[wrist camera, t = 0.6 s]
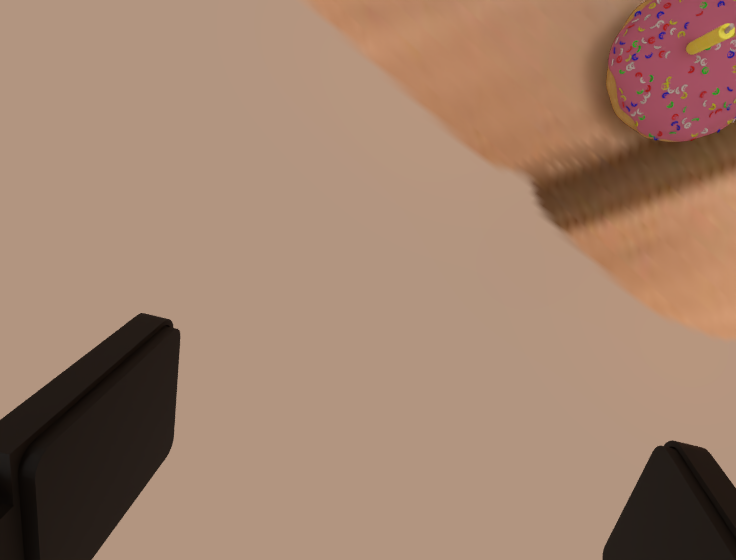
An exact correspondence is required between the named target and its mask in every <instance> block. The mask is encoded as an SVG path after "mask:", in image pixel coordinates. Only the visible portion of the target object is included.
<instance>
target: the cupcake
mask: <svg viewBox="0 0 736 560" xmlns="http://www.w3.org/2000/svg"><path fill="white" fill-rule="evenodd" d="M606 87H607V91H608V94H609V97H610V100H611V104H612V107H613V110H614V112H615V113H616V115H617V116H618V117H619V118H620V119H621V120H622V121H623V122H624V123H625V124H627V125H628V126H629V127H631V128H632V129H634V130H636V131H637V132H638V133H640V134H641V135H642V136H644V137H646V138H649V139H654V140H661V141H667V142H680V141H688V140H690V141H692V140H694V139H696V138H699V137H702V136H705V135H709V134H712V133H714V132H717V131H718V132H719V131H720V130H721V129H723V128H724V127H726V126H727V125H729V124H730V123H732V122H733V123H734V122H735V120H736V0H647V1H645V2H644V3H642V4H641V5H640V6H639V7H637V8H636V9H635V10H634V11H633V13H632V14H631V15H630V17H629V18H628V20H627V22H626V23H625V25H624V26H623V28H622V30H621V31H620V33H619V34H618V35H617V37H616V38H615V40H614V42H613V45H612V47H611V50H610V54H609V59H608V70H607V78H606ZM718 132H717V133H718Z"/></svg>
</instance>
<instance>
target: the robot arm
mask: <svg viewBox="0 0 736 560" xmlns="http://www.w3.org/2000/svg"><path fill="white" fill-rule="evenodd" d="M179 349H180V331H179V330H178V329H175V328H173V323H172V321H171V320H169V319H165V318H161V317H157V316H153V315H149V314H144V313H140V314H139V315H137V316H136V317H134V318H133V319H132V320H130V321H129V322H128V323H126V324H125V325H124V326H123V327H121V328H120V329H119V330H117V331H116V332H115V333H113V334H112V335H111V336H109V337H108V338H107V339H106V340H104V341H103V342H102V343H100V344H99V345H98V346H96V347H95V348H94V349H92V350H91V351H90V352H88V353H87V354H86V355H85V356H83V357H82V358H81V359H79V360H78V361H77V362H75V363H74V364H73V365H72V366H70V367H69V368H68V369H66V370H65V371H64V372H62V373H61V374H60V375H58V376H57V377H56V378H55V379H53V380H52V381H51V382H49V383H48V384H47V385H45V386H44V387H43V388H41V389H40V390H39V391H38V392H36V393H35V394H34V395H32V396H31V397H30V398H28V399H27V400H26V401H24V402H23V403H22V404H21V405H19V406H18V407H17V408H15V409H14V410H13V411H11V412H10V413H9V414H7V415H6V416H5V417H4V418H2V419H1V420H0V560H91V559H92V558H93V557H94V556H95V554H96V553H97V552H98V550H99V549H100V547H101V546H102V545H103V543H104V542H105V541H106V539H107V538H108V536H109V535H110V534H111V532H112V531H113V529H114V528H115V527H116V526H117V524H118V523H119V521H120V520H121V519H122V517H123V516H124V514H125V513H126V512H127V510H128V509H129V508H130V506H131V505H132V504H133V502H134V501H135V499H136V498H137V497H138V495H139V494H140V492H141V491H142V490H143V489H144V487H145V486H146V484H147V483H148V482H149V480H150V479H151V478H152V476H153V475H154V473H155V472H156V471H157V469H158V468H159V467H160V465H161V464H162V462H163V461H164V460H165V458H166V457H167V455H168V454H169V451H170V449H171V447H172V443H173V438H174V425H175V408H176V394H177V393H176V392H177V379H178V364H179ZM603 560H736V488H735V487H734V485H733V484H732V483H731V481H730V480H729V478H728V477H727V476H726V474H725V473H724V472H723V471H722V469H721V467H720V466H719V465H718V463H717V462H716V461H715V459H714V458H713V457H712V455H711V454H710V453H709V452H708V451H707V450H706V449H704V448H702V447H698V446H693V445H689V444H685V443H681V442H676V441H669V442H667V443H666V444H665V445H664V446H658V447H656V448H655V449H654V451H653V452H652V454H651V456H650V458H649V460H648V462H647V464H646V466H645V468H644V470H643V472H642V474H641V476H640V478H639V480H638V482H637V484H636V486H635V488H634V490H633V492H632V494H631V496H630V498H629V500H628V502H627V504H626V506H625V507H624V510H623V511H622V513H621V515H620V517H619V519H618V521H617V523H616V525H615V528H614V529H613V531H612V533H611V535H610V537H609V539H608V541H607V543H606V545H605V547H604V551H603Z"/></svg>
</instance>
